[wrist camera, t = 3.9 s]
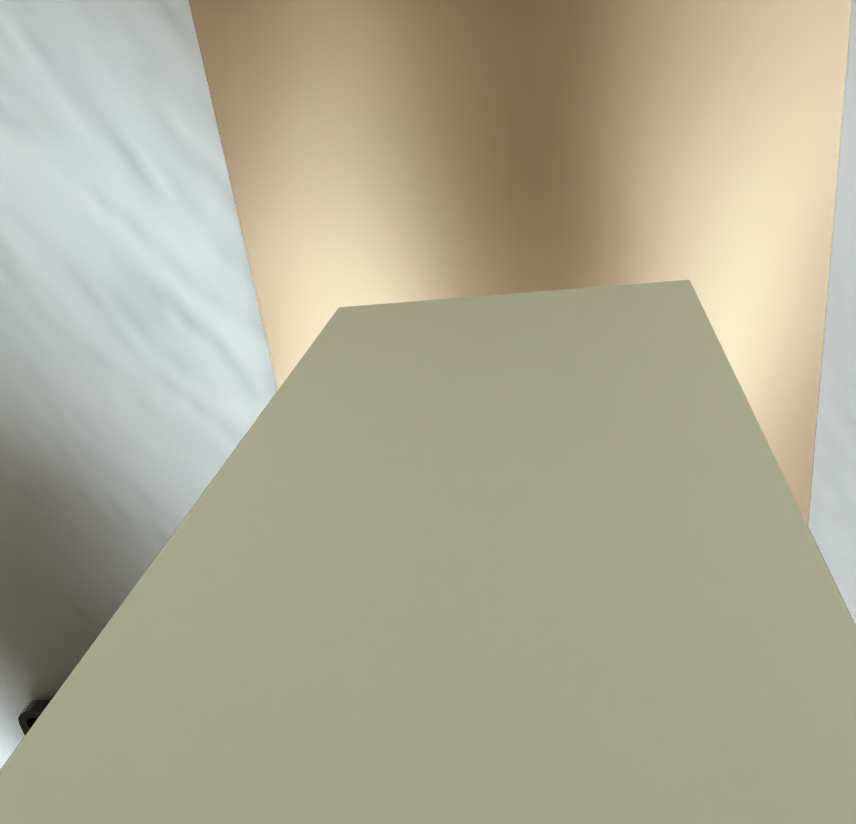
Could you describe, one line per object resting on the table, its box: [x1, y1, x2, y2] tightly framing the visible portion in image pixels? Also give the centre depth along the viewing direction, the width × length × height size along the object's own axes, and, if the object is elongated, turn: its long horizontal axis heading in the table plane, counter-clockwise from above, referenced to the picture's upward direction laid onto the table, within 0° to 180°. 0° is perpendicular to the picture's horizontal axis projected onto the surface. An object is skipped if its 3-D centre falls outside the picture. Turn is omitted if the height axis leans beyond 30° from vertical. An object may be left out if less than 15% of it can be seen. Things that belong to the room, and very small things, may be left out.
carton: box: [0, 280, 856, 824], centre depth 7 cm, size 4×6×8 cm
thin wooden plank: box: [189, 0, 852, 525], centre depth 13 cm, size 10×20×3 cm, turn 8°
